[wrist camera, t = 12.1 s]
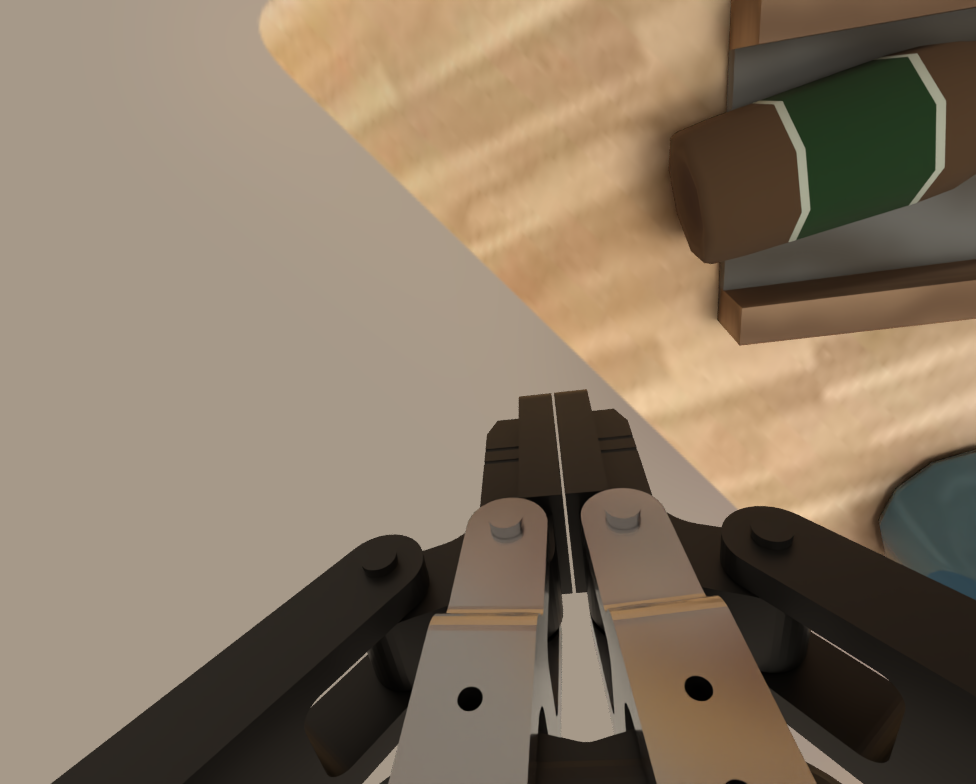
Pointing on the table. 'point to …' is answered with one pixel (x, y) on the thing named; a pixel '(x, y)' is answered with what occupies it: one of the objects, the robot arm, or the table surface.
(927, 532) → the wine bottle
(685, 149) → the beer bottle
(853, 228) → the cradle
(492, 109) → the table surface
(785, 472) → the table surface
